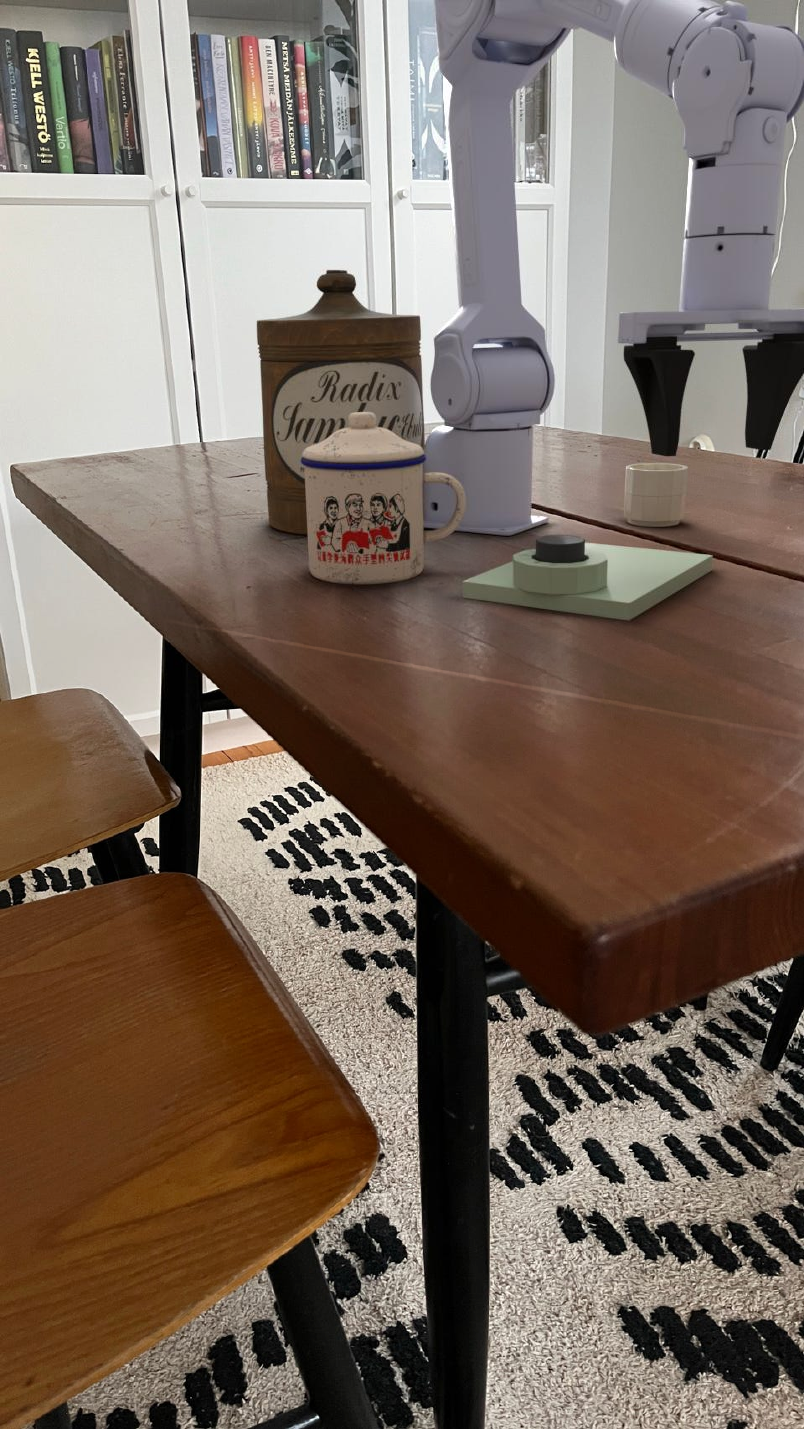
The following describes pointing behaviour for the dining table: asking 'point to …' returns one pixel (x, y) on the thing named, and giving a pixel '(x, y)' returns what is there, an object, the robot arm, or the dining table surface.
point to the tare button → (560, 549)
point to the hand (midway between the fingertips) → (711, 451)
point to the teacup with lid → (369, 505)
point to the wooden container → (332, 385)
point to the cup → (655, 494)
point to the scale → (591, 580)
